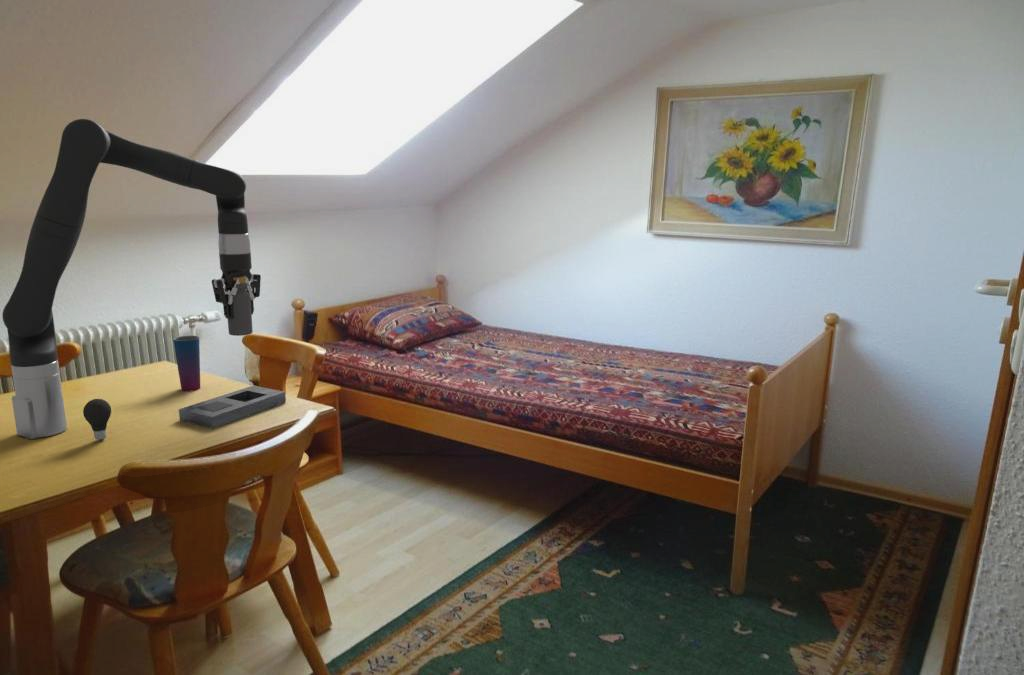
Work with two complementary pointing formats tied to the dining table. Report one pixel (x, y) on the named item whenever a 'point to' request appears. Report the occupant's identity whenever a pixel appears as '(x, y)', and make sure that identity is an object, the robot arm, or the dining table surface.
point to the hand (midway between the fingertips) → (239, 316)
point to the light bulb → (97, 416)
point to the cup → (188, 361)
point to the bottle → (241, 310)
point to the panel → (231, 406)
